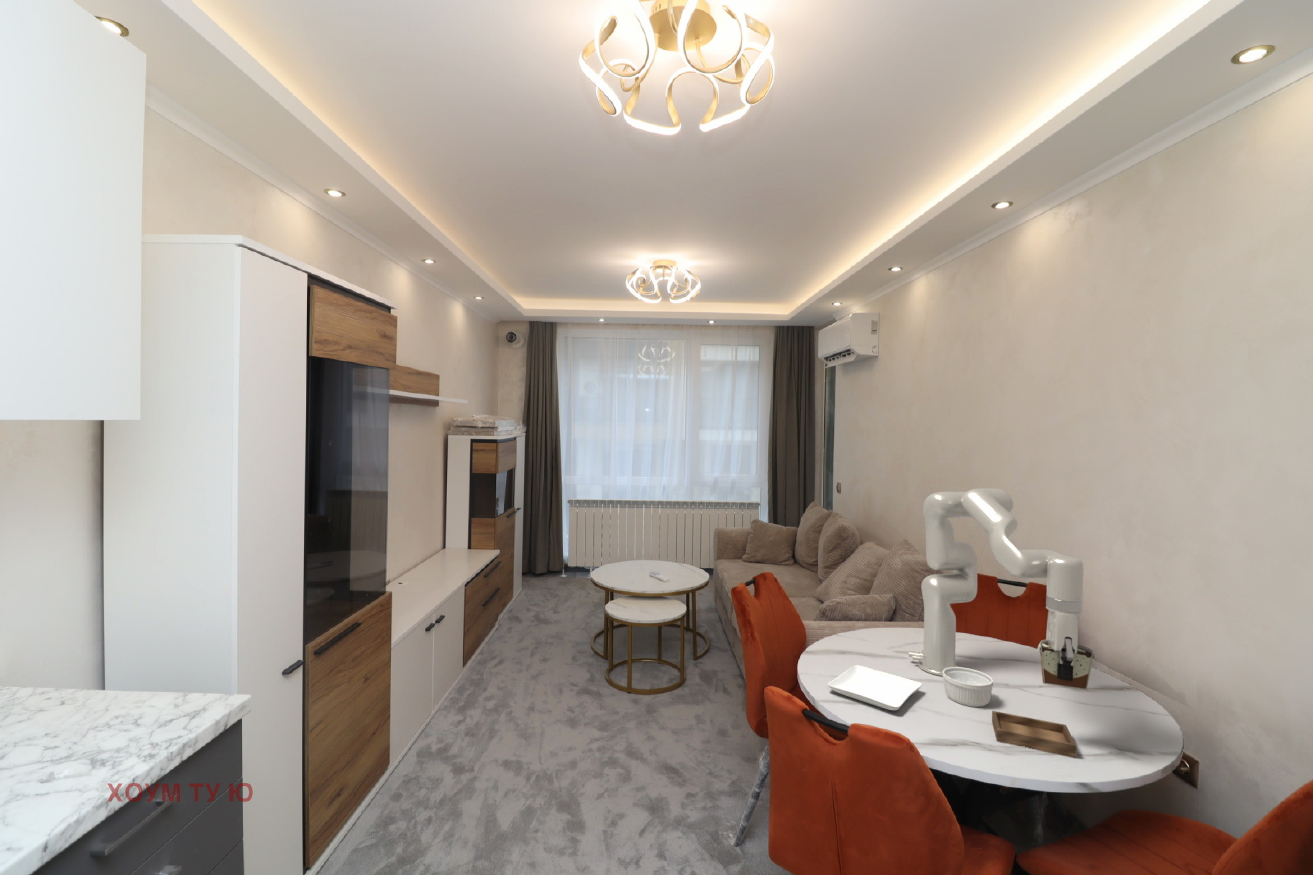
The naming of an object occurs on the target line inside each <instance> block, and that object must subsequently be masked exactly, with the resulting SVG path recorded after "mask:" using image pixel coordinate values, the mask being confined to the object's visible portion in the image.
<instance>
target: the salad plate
mask: <svg viewBox="0 0 1313 875" xmlns="http://www.w3.org/2000/svg"><path fill="white" fill-rule="evenodd" d="M827 685H828V687H829V688H830V689H831V690H832V691H834V692H836V693H837V694H840V695H842V696H846V697H848V698H851V699H854V700H858V701H860V702H862V703H863V702H864V703H866V704H870V705H872V706H876V707H877V708H881V709H884V710H888V711H898V710H899V709H900V708H901V707H902V705H903V704H904V703H905V702H906V701H907V700H908V699H909V698H910V697H911V696H913V694H914V693H916V692H917V691H918V690H920V689H921V688H922V686H923V682H919V681H916V680H912V679H909V678H905V677H904V676H899V675H895V674H893V673H889V672H885V671H882V670H876V669H875V668H870V667H866V666H864V665H863V666H862V665H859V664H854V665H852V666H851V667H849V668H848V669H847V670H845V671H844V672H842V673H840V674H839V675H838V676H836V677H835V678H834V679H832V680H830V681H829V682H828V683H827Z"/></svg>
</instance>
